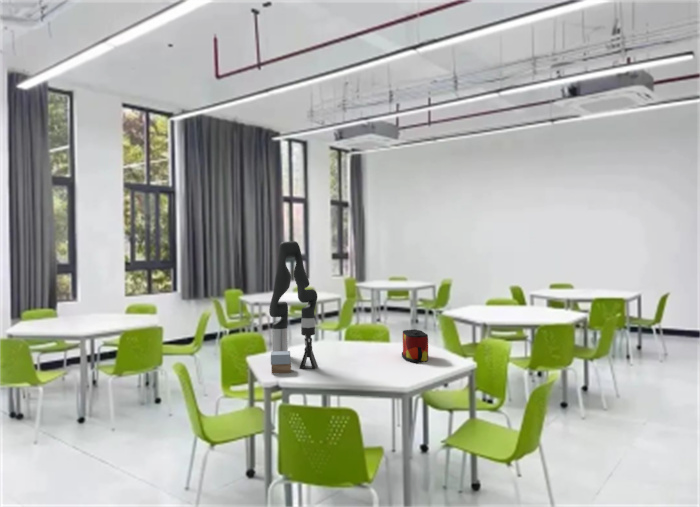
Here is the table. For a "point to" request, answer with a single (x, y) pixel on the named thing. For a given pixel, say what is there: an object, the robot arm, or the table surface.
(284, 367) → the tower bottom
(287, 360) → the tower top
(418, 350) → the bag
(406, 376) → the table surface
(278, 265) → the robot arm
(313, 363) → the phone stand
